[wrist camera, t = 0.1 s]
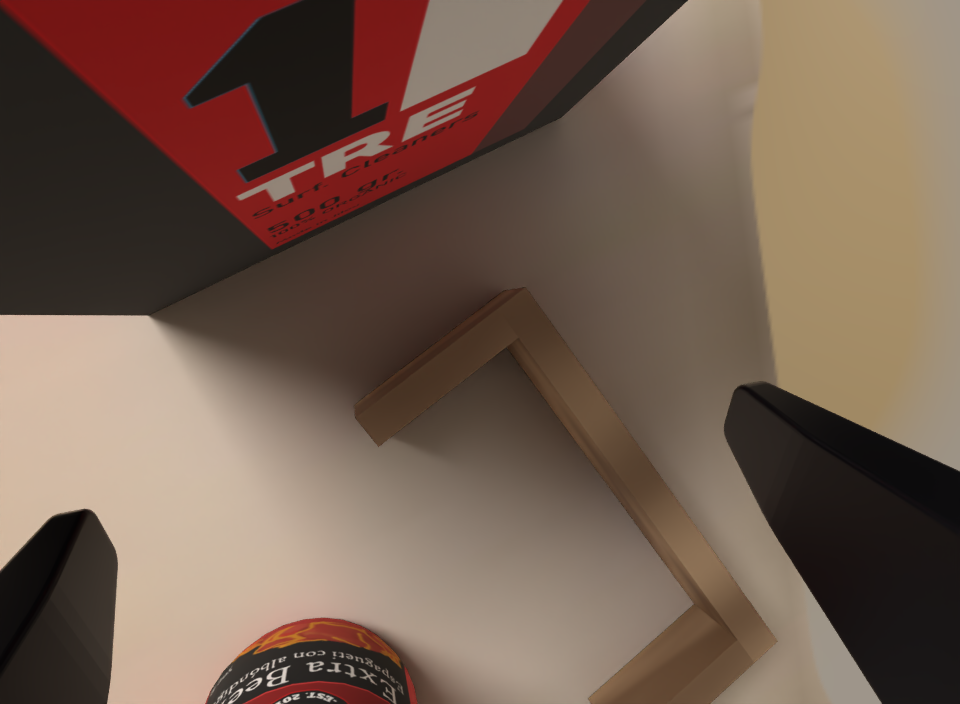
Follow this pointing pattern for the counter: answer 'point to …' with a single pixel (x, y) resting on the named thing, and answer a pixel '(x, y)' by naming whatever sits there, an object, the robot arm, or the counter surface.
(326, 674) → the canned food
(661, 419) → the counter surface
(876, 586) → the robot arm
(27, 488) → the counter surface
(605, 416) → the tan bone-shaped block
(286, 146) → the cleaning product box
